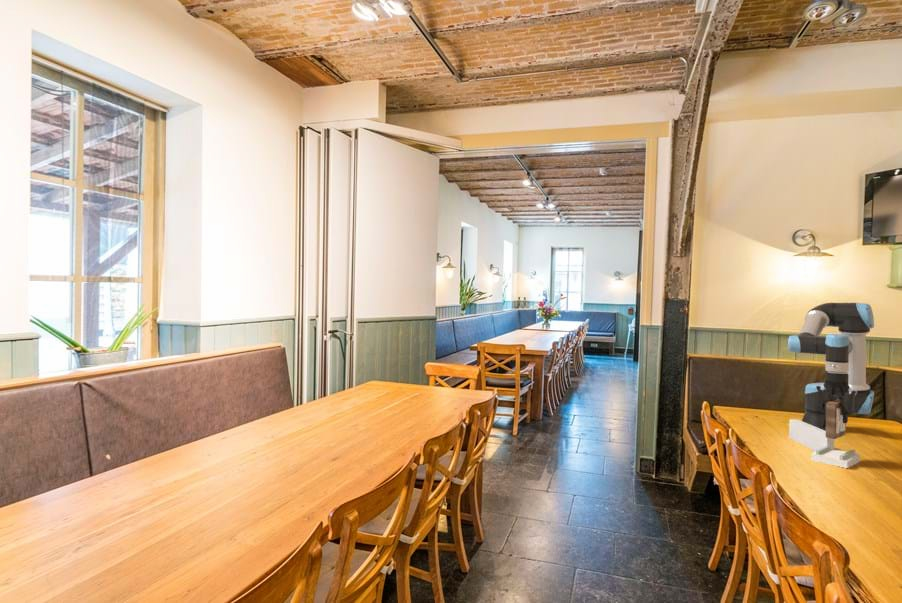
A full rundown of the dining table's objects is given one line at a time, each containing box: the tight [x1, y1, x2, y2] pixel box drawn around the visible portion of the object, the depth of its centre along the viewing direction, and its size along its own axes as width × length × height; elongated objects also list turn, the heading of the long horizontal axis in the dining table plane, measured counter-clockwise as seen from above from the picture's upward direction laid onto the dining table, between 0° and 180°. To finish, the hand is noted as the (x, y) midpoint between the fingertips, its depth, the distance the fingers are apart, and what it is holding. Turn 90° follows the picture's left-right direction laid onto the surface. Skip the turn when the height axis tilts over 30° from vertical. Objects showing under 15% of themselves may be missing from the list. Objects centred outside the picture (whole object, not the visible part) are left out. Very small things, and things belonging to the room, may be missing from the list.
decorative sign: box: [785, 418, 835, 452], centre depth 222 cm, size 32×4×10 cm, turn 174°
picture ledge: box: [810, 446, 861, 469], centre depth 201 cm, size 14×12×4 cm
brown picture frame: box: [826, 399, 847, 440], centre depth 201 cm, size 12×4×14 cm, turn 124°
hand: (835, 429), depth 201 cm, fingers closed on brown picture frame, 3 cm apart
